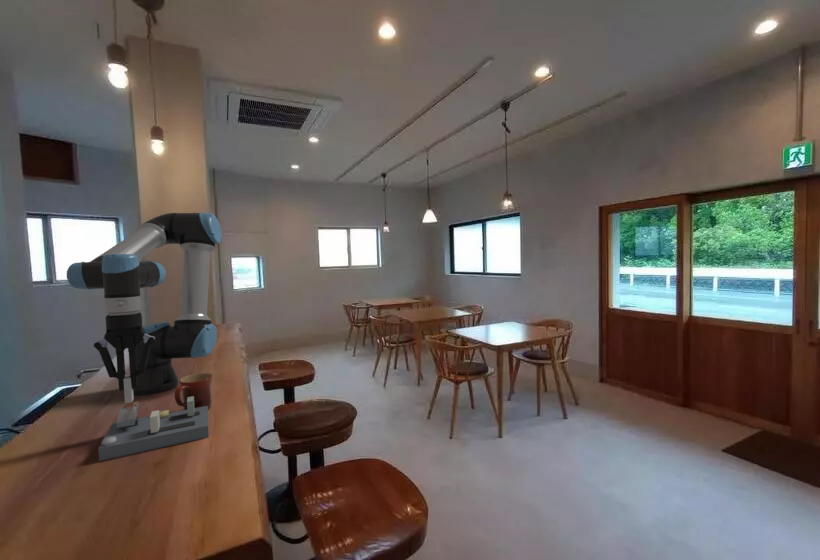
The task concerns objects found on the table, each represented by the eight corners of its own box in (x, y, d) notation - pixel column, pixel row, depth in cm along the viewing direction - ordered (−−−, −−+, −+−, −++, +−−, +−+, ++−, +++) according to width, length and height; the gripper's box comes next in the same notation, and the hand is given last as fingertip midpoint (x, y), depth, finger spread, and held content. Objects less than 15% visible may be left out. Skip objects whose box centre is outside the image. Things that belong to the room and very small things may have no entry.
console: (113, 434, 97) (112, 417, 97) (208, 415, 108) (207, 400, 108) (99, 461, 84) (97, 442, 84) (208, 437, 95) (207, 420, 95)
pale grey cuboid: (152, 426, 94) (152, 411, 93) (160, 425, 94) (159, 410, 94) (150, 433, 90) (149, 417, 90) (158, 431, 91) (157, 415, 91)
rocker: (122, 409, 98) (122, 403, 98) (138, 406, 100) (138, 400, 99) (117, 428, 92) (116, 421, 91) (134, 424, 93) (133, 418, 93)
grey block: (188, 411, 103) (187, 397, 103) (194, 410, 104) (193, 396, 103) (187, 416, 99) (186, 402, 99) (194, 415, 100) (193, 400, 100)
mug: (196, 404, 117) (194, 372, 116) (220, 405, 115) (219, 373, 115) (164, 420, 105) (162, 385, 105) (190, 423, 103) (188, 387, 103)
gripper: (87, 317, 90) (94, 411, 91) (152, 312, 96) (157, 400, 98) (95, 313, 97) (101, 401, 98) (155, 309, 103) (160, 392, 104)
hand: (129, 401), depth 98 cm, fingers closed
